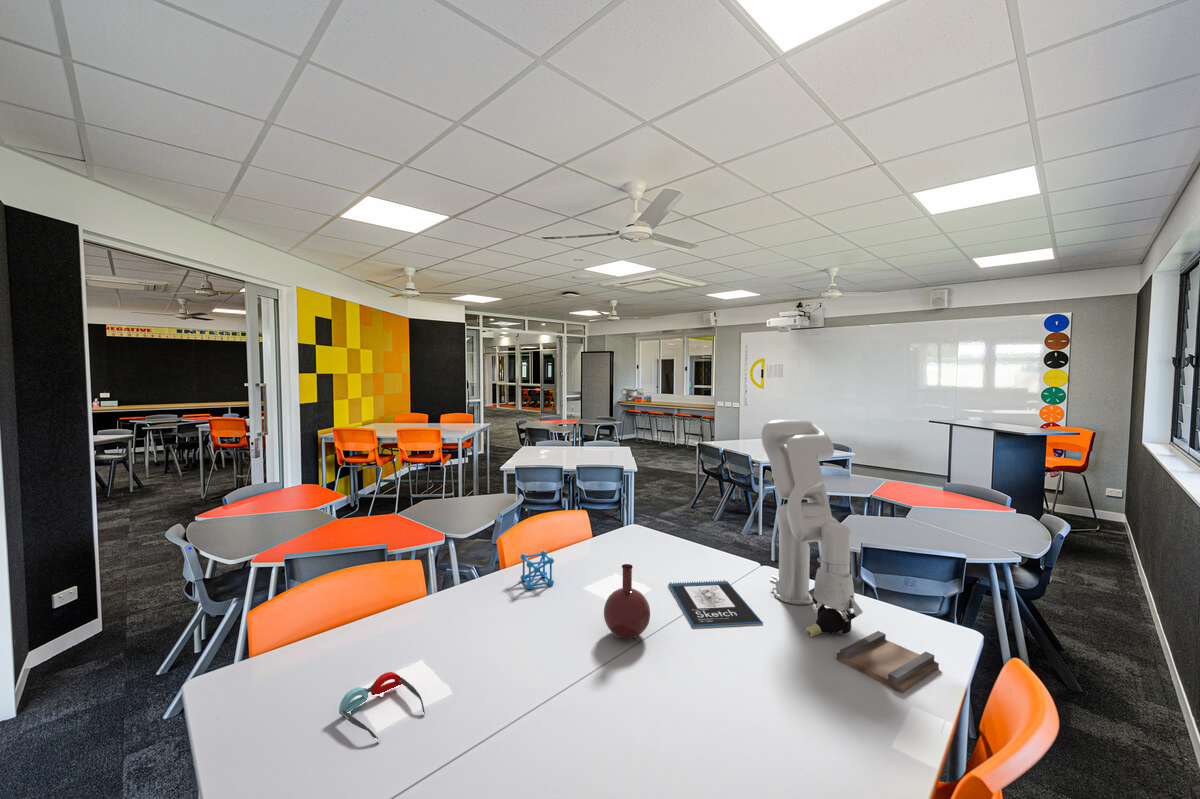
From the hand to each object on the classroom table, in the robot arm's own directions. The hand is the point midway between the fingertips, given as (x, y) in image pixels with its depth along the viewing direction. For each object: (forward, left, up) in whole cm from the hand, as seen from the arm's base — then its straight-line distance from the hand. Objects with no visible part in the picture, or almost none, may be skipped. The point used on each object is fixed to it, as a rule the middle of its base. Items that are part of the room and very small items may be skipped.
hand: (833, 626), depth 139 cm
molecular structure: (-75, -60, -1) cm, 96 cm away
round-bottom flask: (-29, -53, -1) cm, 60 cm away
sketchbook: (-31, -18, -2) cm, 36 cm away
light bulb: (-1, -4, -1) cm, 4 cm away
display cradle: (+17, -4, -1) cm, 17 cm away
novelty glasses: (-30, -116, -2) cm, 120 cm away
